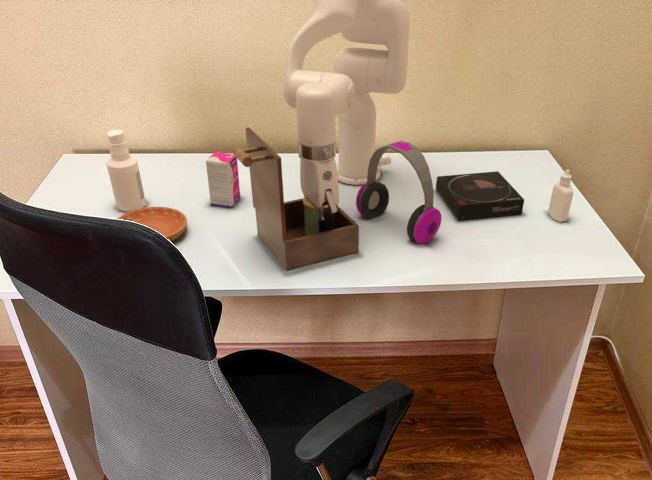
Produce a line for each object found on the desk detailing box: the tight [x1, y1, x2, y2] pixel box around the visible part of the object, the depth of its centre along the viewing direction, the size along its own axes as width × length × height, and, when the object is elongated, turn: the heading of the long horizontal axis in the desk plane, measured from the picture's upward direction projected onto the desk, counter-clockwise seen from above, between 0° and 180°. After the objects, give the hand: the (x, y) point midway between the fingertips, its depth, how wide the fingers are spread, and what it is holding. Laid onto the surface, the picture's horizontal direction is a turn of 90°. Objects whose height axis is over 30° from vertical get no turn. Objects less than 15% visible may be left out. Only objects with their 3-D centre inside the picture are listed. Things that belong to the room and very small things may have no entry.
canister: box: [303, 196, 334, 236], centre depth 143 cm, size 7×7×10 cm
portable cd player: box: [435, 170, 525, 222], centre depth 164 cm, size 16×17×4 cm
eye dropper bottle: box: [547, 169, 574, 223], centre depth 156 cm, size 4×6×12 cm
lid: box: [232, 126, 286, 241], centre depth 131 cm, size 17×17×6 cm
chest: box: [254, 197, 360, 272], centre depth 144 cm, size 17×17×7 cm
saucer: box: [117, 206, 188, 243], centre depth 148 cm, size 16×16×3 cm
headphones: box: [355, 140, 442, 245], centre depth 147 cm, size 21×9×20 cm, turn 45°
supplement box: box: [205, 151, 241, 209], centre depth 158 cm, size 6×6×12 cm
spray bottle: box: [106, 129, 147, 212], centre depth 153 cm, size 7×7×18 cm
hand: (319, 227), depth 144 cm, fingers closed on canister, 6 cm apart
